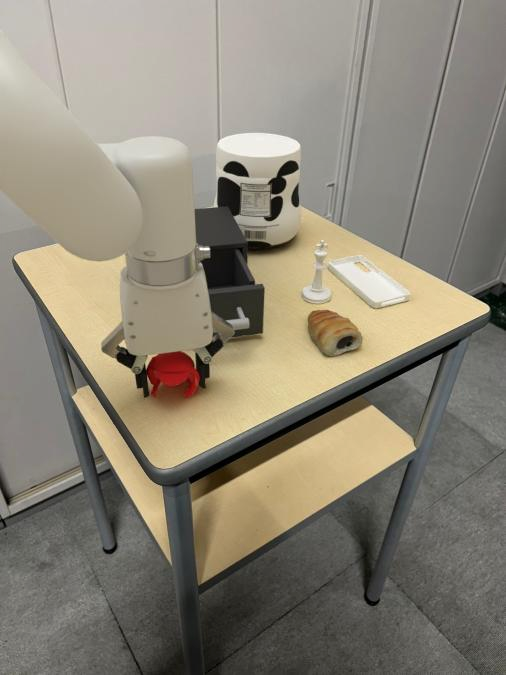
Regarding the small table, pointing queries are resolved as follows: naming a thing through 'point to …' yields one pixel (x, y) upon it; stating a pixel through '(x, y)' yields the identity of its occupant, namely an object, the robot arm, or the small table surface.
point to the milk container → (260, 186)
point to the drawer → (234, 292)
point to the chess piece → (317, 279)
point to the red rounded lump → (173, 371)
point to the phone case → (369, 282)
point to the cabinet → (219, 230)
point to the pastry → (333, 332)
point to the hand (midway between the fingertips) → (173, 384)
